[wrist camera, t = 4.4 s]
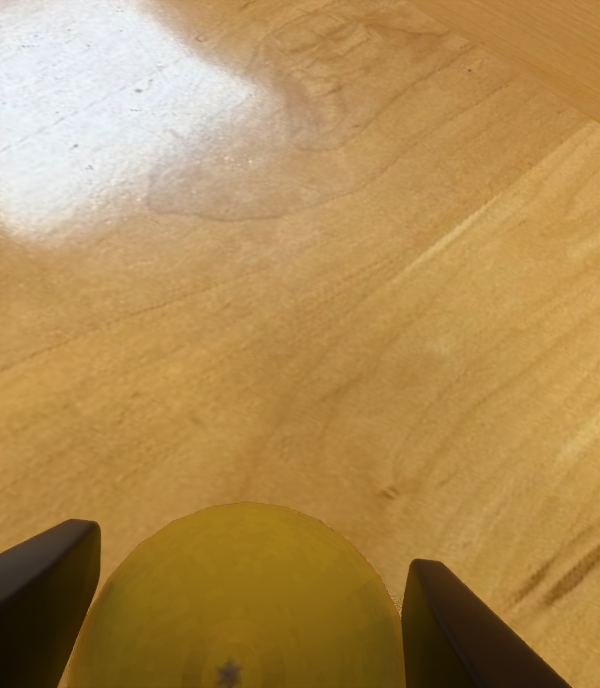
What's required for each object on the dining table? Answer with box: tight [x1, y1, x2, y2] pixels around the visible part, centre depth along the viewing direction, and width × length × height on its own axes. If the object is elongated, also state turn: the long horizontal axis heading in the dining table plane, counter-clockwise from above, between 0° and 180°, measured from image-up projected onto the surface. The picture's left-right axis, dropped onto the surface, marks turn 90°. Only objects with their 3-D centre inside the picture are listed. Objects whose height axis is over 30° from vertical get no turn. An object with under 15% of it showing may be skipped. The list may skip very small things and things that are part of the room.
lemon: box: [67, 502, 406, 688], centre depth 10 cm, size 6×6×8 cm
